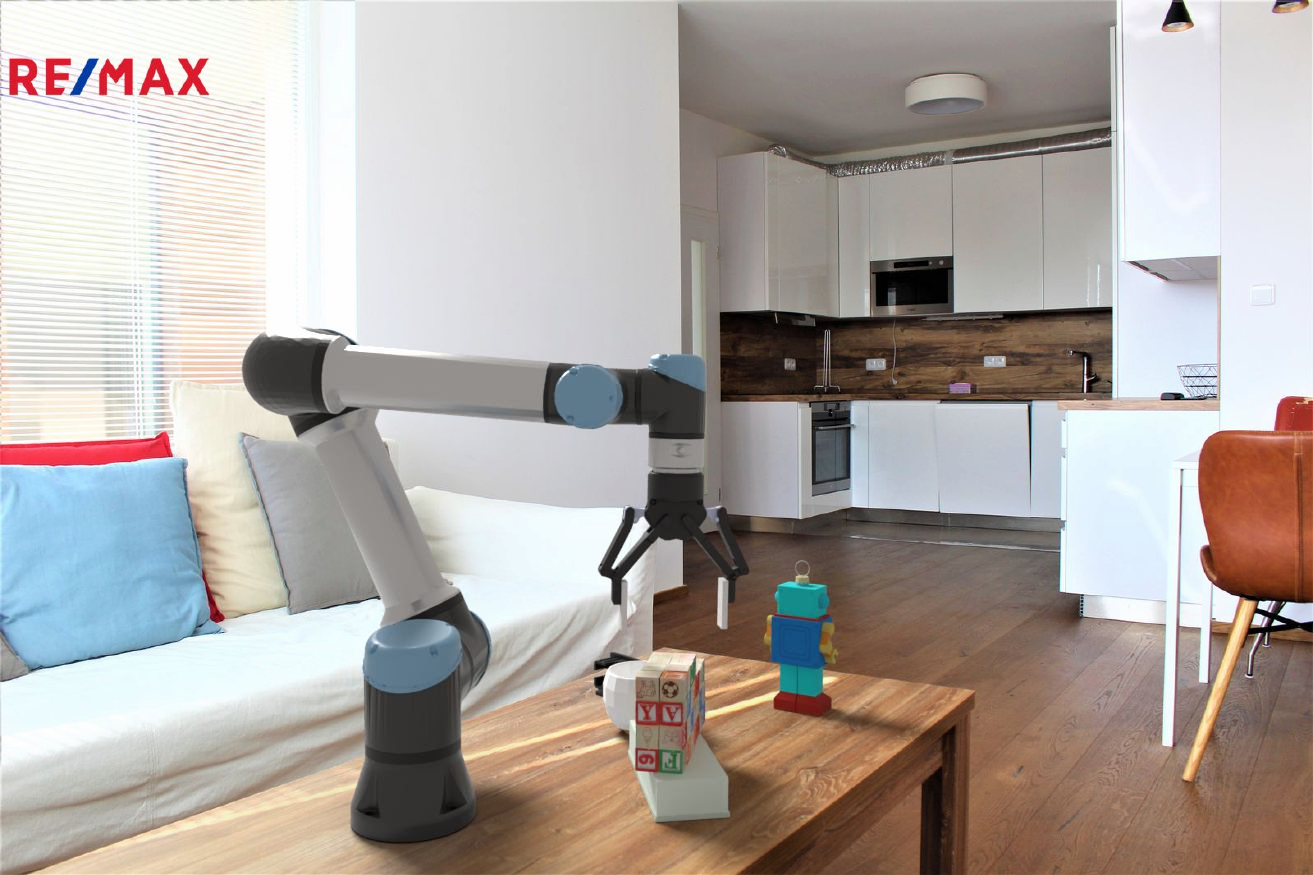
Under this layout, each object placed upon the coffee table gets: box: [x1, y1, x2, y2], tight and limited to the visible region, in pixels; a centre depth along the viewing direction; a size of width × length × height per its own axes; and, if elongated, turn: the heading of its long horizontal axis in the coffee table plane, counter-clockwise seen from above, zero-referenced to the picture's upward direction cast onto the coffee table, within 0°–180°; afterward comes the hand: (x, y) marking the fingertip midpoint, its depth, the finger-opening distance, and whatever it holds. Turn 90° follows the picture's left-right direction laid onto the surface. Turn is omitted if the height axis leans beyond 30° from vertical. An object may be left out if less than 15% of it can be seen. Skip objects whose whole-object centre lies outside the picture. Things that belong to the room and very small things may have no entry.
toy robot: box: [763, 560, 839, 717], centre depth 172 cm, size 12×6×25 cm, turn 58°
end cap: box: [593, 651, 644, 698], centre depth 179 cm, size 10×7×7 cm
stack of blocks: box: [634, 651, 706, 774], centre depth 140 cm, size 21×6×12 cm, turn 170°
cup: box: [602, 660, 648, 735], centre depth 161 cm, size 12×12×10 cm
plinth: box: [627, 720, 731, 823], centre depth 139 cm, size 9×24×5 cm, turn 9°
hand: (672, 628), depth 138 cm, fingers open, 13 cm apart
